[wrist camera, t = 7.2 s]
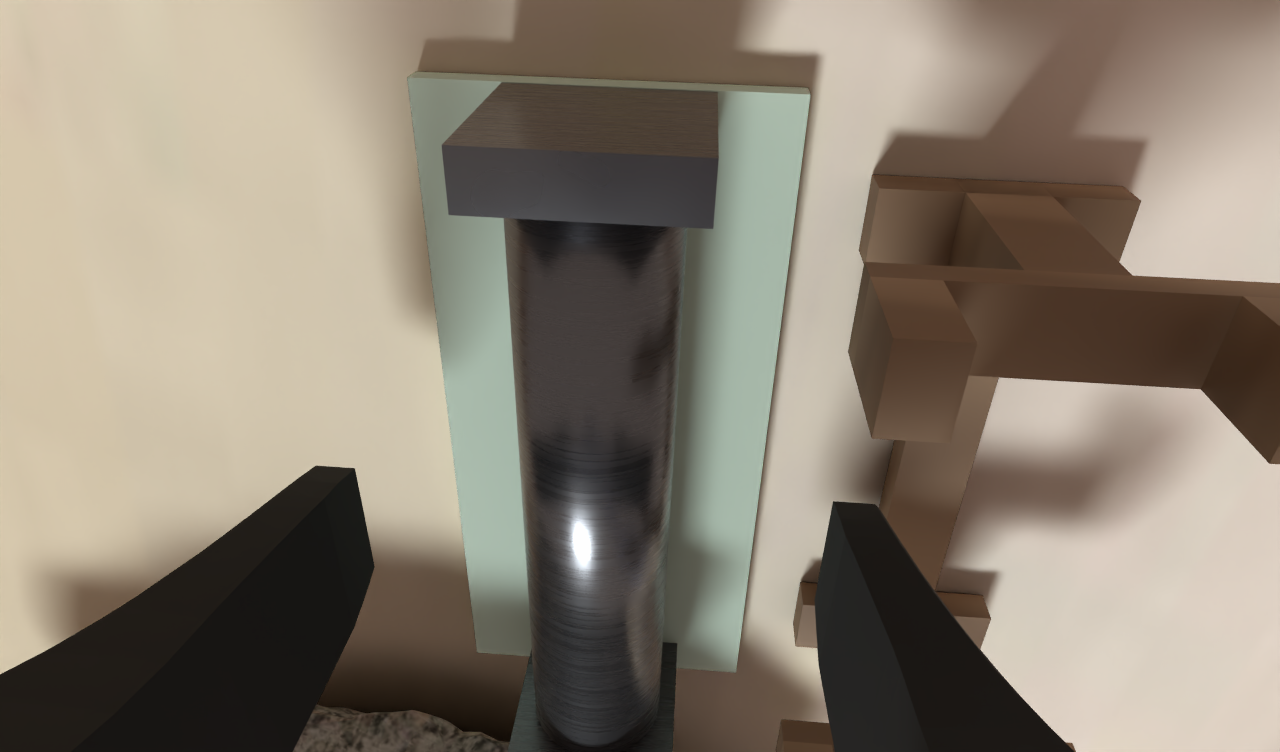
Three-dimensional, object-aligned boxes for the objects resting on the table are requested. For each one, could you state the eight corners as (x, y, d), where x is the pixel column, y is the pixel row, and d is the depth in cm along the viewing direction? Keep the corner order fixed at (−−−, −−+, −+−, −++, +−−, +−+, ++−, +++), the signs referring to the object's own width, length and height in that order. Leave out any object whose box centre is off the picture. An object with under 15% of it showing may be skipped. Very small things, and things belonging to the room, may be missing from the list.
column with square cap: (675, 668, 18) (669, 803, 15) (536, 657, 18) (507, 789, 15) (717, 91, 11) (718, 158, 9) (501, 82, 12) (441, 145, 9)
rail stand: (997, 638, 17) (1091, 894, 13) (764, 621, 17) (780, 866, 13) (1165, 188, 12) (1412, 367, 8) (831, 172, 12) (892, 337, 8)
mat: (735, 656, 18) (736, 672, 18) (481, 637, 18) (477, 652, 18) (807, 87, 12) (810, 94, 11) (415, 71, 12) (406, 77, 12)
